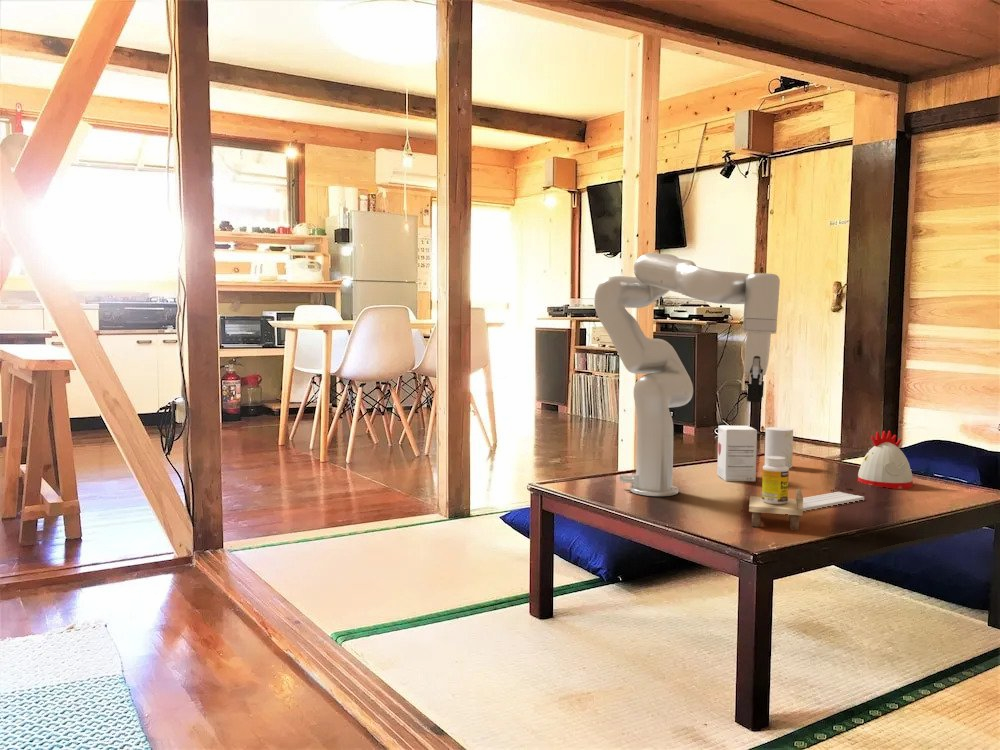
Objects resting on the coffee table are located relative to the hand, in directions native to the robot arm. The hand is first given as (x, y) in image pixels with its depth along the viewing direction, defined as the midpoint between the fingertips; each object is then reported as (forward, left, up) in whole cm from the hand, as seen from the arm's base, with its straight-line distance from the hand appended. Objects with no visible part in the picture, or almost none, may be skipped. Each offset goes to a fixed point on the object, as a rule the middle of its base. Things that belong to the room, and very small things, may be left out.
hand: (755, 399), depth 189 cm
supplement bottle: (+5, -9, -22) cm, 25 cm away
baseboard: (+13, +15, -28) cm, 34 cm away
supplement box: (-5, +42, -27) cm, 51 cm away
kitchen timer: (+35, +48, -27) cm, 66 cm away
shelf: (+5, -10, -27) cm, 29 cm away
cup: (+7, +66, -27) cm, 72 cm away
